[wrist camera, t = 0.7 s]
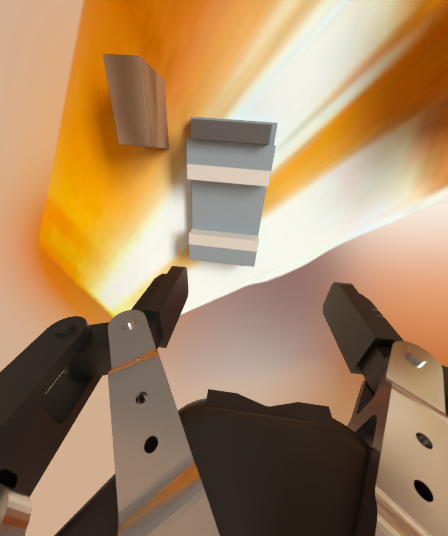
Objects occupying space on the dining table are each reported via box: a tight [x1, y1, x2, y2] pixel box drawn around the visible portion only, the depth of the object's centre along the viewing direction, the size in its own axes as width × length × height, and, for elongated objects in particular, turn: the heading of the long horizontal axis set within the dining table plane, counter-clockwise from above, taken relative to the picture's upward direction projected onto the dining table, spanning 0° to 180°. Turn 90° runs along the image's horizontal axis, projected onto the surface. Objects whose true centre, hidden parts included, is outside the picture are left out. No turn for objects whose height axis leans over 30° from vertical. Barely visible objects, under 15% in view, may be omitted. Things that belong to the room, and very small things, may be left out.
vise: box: [189, 117, 277, 267], centre depth 31 cm, size 22×12×4 cm, turn 176°
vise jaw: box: [186, 119, 275, 187], centre depth 26 cm, size 7×12×4 cm, turn 86°
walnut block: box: [103, 54, 169, 149], centre depth 25 cm, size 4×8×7 cm, turn 176°
